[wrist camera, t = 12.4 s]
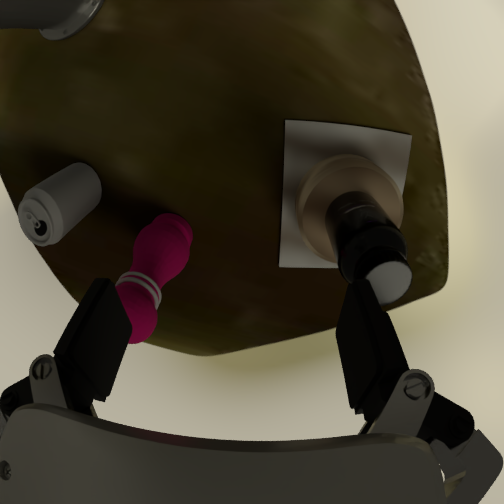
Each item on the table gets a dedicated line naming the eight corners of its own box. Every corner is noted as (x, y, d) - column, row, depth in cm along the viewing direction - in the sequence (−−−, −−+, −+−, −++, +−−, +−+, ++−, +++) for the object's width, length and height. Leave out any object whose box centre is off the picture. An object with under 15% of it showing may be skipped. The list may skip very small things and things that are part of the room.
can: (83, 216, 36) (38, 260, 26) (58, 178, 33) (6, 213, 23) (113, 193, 34) (65, 236, 24) (86, 150, 31) (29, 181, 21)
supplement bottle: (353, 176, 27) (398, 230, 17) (389, 214, 29) (437, 278, 19) (310, 220, 30) (330, 291, 20) (349, 252, 32) (378, 325, 22)
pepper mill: (196, 211, 35) (140, 328, 19) (196, 257, 39) (156, 377, 23) (145, 207, 35) (66, 310, 19) (150, 251, 39) (91, 360, 23)
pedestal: (285, 119, 29) (288, 124, 25) (410, 135, 28) (428, 142, 24) (279, 265, 39) (280, 285, 36) (382, 266, 39) (392, 285, 35)
